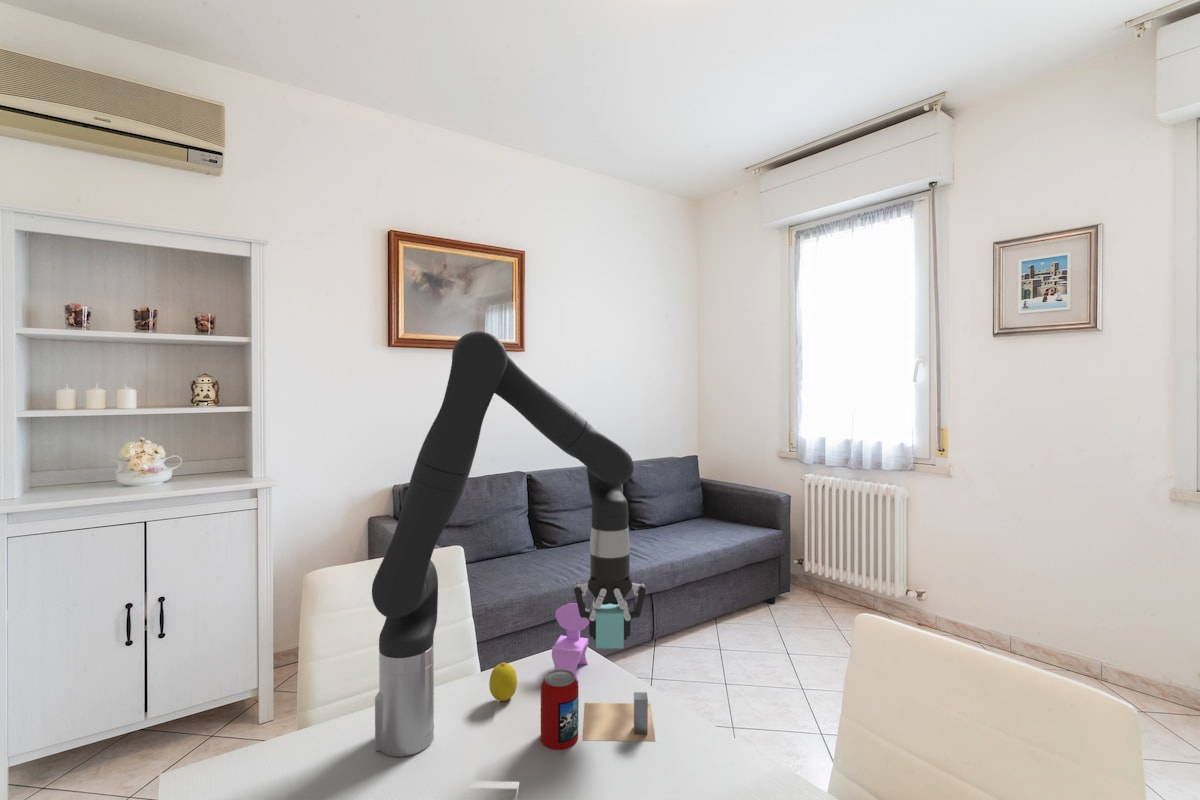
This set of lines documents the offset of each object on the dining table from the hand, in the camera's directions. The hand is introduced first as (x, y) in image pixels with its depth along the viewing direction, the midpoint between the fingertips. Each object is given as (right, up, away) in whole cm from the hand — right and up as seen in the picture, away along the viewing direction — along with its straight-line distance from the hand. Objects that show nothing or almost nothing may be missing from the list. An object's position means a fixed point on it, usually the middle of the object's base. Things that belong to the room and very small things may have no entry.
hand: (609, 637), depth 111 cm
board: (+1, -16, -2) cm, 16 cm away
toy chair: (-8, -15, +17) cm, 24 cm away
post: (+5, -15, -5) cm, 17 cm away
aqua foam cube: (0, -1, 0) cm, 1 cm away
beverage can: (-9, -16, -7) cm, 20 cm away
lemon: (-21, -16, +6) cm, 27 cm away
